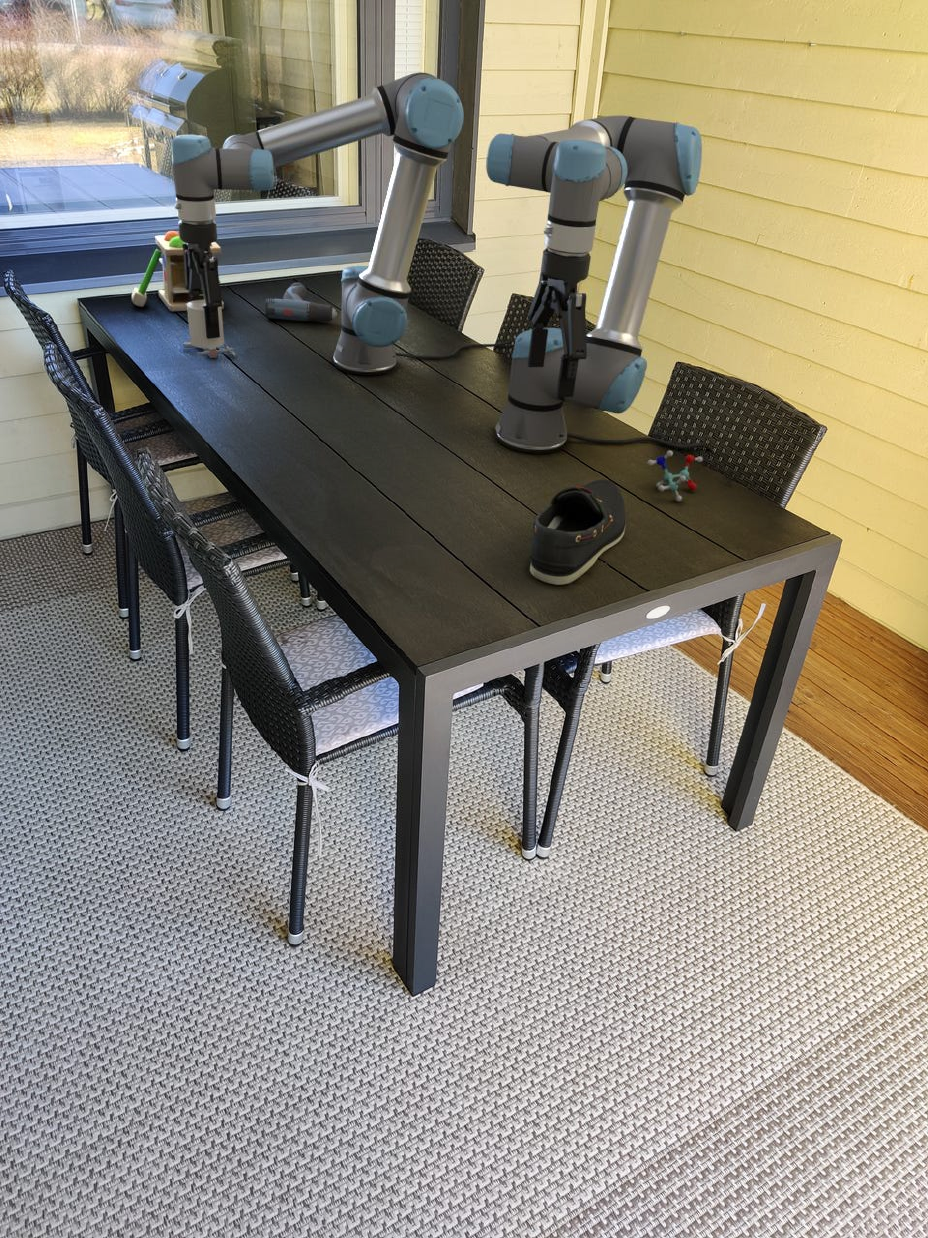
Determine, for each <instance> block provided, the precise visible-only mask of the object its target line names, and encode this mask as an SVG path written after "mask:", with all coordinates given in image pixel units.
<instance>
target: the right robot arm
mask: <svg viewBox="0 0 928 1238" xmlns="http://www.w3.org/2000/svg"><path fill="white" fill-rule="evenodd" d="M702 154H703V141H702V136H701V133H700V131H699V130H698V128H696V127H695V126H690V125H686V124H682V123H680V122H677V121H676V122H671V121H664V120H656V119H648V118H642V117H635V116H631V115H622V114H621V115H609V116H601V117H594V118H589V119H582V120H579V121H577V122H575V123H574V124H572V125H571V126H570V127H569V128H567V129H563V130H556V131H552V132H551V131H550V132H545V133H539V134H534V135H526V136H525V135H517V134H516V135H515V133H510V134H509V133H498V134H496V135H494V137H492V139H491V141H490V143H489V145H488V149H487V154H486V162H485V170H486V174H487V177H488V178H489V180H490V181H491V182H493V183H496V184H499V185H504V186H505V187H515V188H520V189H526V190H527V189H528V190H533V191H538V192H545V193H549V195H550V196H549V202H548V213H547V220H546V227H544V228H543V234H544V236H545V237H544V246H545V247H546V248H545V249H543V251H542V259H541V266H540V274H539V280H538V284H537V287H536V290H535V293H534V295H533V299H532V301H531V305H530V307H529V310H528V313H527V320H528V321H530V327H531V329H528V330H525V331H523V332H520V333H519V334H518V335H517V337H516V338H515V340H514V341H515V344H513V345H514V346H513V351H512V354H511V367H510V368H511V369H510V374H509V375H510V376H509V385H508V396H507V400H506V401H507V402H506V404H505V405H504V409H503V410H502V413H501V415H500V417H499V419H498V421H497V422H496V425H495V428H494V429H495V433H494V437H495V440H496V441H497V442H498V443H499V444H501V446H504V447H506V448H508V449H510V450H512V451H516V452H520V453H526V454H533V455H544V454H552V453H556V452H559V451H560V450H562V449H564V448H565V447H566V445H567V440H568V438H570V439H574V440H579V441H582V442H583V441H584V442H587V443H593V444H602V445H626V444H632V443H639V442H650V443H656V444H659V445H663V446H666V447H669V448H674V449H678V450H690V449H691V450H692V449H695V448H703V447H702V446H703V444H702V443H703V442H696V443H690V444H677V443H673V442H670V441H666V440H663V439H660V438H655V437H649V436H648V437H646V436H641V437H634V438H633V437H632V438H627V439H602V438H592V437H587V436H583V435H580V434H574V433H570V432H568V431H567V424H566V419H565V413H564V402H566V403H570V404H574V405H578V406H581V407H586V408H589V409H594V410H597V411H599V412H601V413H602V412H607V413H612V414H617V415H618V414H623V413H625V412H627V410H629V409H630V408H631V406H632V405H633V403H634V402H635V399H636V398H637V396H638V394H639V392H640V389H641V387H642V386H643V383H644V379H645V376H646V371H647V367H648V362H647V360H646V358H644V357H643V356H642V353H643V346H642V344H641V343H640V341H639V335H640V331H641V328H642V323H643V320H644V316H645V313H646V309H647V306H648V302H649V299H650V296H651V295H650V294H651V291H652V288H653V287H652V286H653V283H654V280H655V276H656V272H657V268H658V265H659V261H660V259H661V258H660V257H661V254H662V251H663V245H664V243H665V239H666V236H667V232H668V229H669V225H670V221H671V218H672V214H673V213H674V212H675V211H677V210H678V209H679V208H681V207H682V206H683V204H684V199H685V196H686V197H689V196H693V195H694V194H695V193H696V190H697V187H698V185H699V181H700V174H701V170H702V169H701V168H702V158H703V155H702ZM622 188H623V191H622V194H623V195H624V197H625V199H626V201H627V206H626V210H625V214H624V219H623V222H622V226H621V229H620V232H619V237H618V240H617V245H616V248H615V253H614V256H613V261H612V264H611V267H610V271H609V274H608V278H607V282H606V286H605V290H604V294H603V298H602V302H601V305H600V309H599V313H598V317H597V321H596V325H595V327H594V329H593V330H592V331H591V330H590V331H589V332H588V333H587V319H586V307H587V294H586V293H585V292H583V293H582V292H581V293H580V292H579V290H578V289H579V288H578V287H579V286H578V284H580V283H581V282H582V281H585V280H586V279H587V278H588V276H589V272H590V264H591V260H592V259H591V258H592V256H591V255H590V252H592V251H593V247H594V240H595V234H596V228H597V218H598V211H599V207H600V202H602V201H605V200H608V199H611V198H612V197H614V196H615V194H617V193H618V192H619V191H620V190H621V189H622ZM554 314H555V317H556V318H557V319H558V320H559V324H560V328H559V327H558V328H557V327H551V326H550V325H551V324H550V321H551V319H552V317H553V316H554ZM704 449H707V450H708V451H709V452H714V451H715V450H714V448H713V447H712V446H711V447H704Z"/></svg>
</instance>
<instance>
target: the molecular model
mask: <svg viewBox="0 0 928 1238" xmlns="http://www.w3.org/2000/svg"><path fill="white" fill-rule="evenodd" d="M673 455H674V452H673V450H667V451H666V454H664V456H658V457H657V458H656V459H655V460H652V459H648V460H647V462H646V464H647V466H649V467H652V466H654V465H656V464H657V465H658V466H661V468H662V470H663V472H664V475H663V479H662V480H661V481H658V482H657V483H656V485H655V486H656V488H657V490H658V491H659V492H662V493H663V492H664V491H665V490H669V491H671V492H673V493H674V495H675V502H678V503H680V502H681V501H682V500H683V497H682V496H681V495H680V494H679V492H678V489H679V485H680V484H681V483H684V482H685V483H686V484H687V487H688V490H689V491H695V490H696V489H697V484H696V483H695V482H693V481H692V479H691V477H690V472H689V471H688V470H689V467H690V464H692V463H693V462H697V463H702V462H703V461H704V458H703V457H702V456H697V457H694V456H693V455H691V454H688V455H686V456H685V462H686V464H685V466H684V469H683V470H681V471H680V472H679V473H678V474H673V473H671V472H669V471H668V469H667V467H666V460H667V459H668V458H670V457H673ZM677 478H678V480H677V481H673V480H674V479H677ZM665 483H668V485H665V486H664V484H665Z"/></svg>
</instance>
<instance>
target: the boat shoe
mask: <svg viewBox="0 0 928 1238" xmlns="http://www.w3.org/2000/svg"><path fill="white" fill-rule="evenodd" d="M623 497H624V496H623V494H622V493H621V490H620V489H619V487H618V486H617V484H616V483H614V482H613V481H611V480H609V479H595V480H593V481H589V482H587V483H586V484H584V485H583V486H568V487H566V488H563V489H562V490H560V491H559V492H556V494H555V495H554V496H553V497H552V498H551V500H550V502H549V504H548V506H546V507H544V508H543V510H541V511H540V513H538V514H537V515H536V517H535V519H534V520H533V522H532V529H533V538H532V541H531V546H530V547H531V548H530V551H529V558H530V559H531V560H530V566H529V572H530V574H531V575H532V576H533V577H534V578H535V579H538V580H540V581H542V582H544V583H547V584H550V585H557V586H558V585H559V586H561V585H568V584H571V583H572V582H574V581H576V580H577V579H579V578H580V577H581V576H582V575H584V573H586V572H587V571H588V570H589V569H590V568H591V567H593V565H594V564H595V563H596V561H597V560H598V558H599V557H601V555H602V554H603V553H604V552H606V551H607V550H609V549H610V548H612V547H614V546H615V545H617V544H618V543H619V542H620V541H621V540H622V539H623V537H624V535H625V532H626V526H627V525H626V524H627V516H626V505H625V502H624V498H623Z"/></svg>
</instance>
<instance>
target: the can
mask: <svg viewBox="0 0 928 1238" xmlns="http://www.w3.org/2000/svg"><path fill="white" fill-rule="evenodd" d="M202 306H206V304H205V300H195V301H191V302H189V303H188V304H187V311H186V312H187V322H188V331H189V332H188V333H189V342H190V343H191V345H193V346H194V347H195V348H199V349H202V348H216V349H217V348H219V347H222V346H223V345H224V344H225V336H224V324H223V323H224V322H223V309H222V308H221V307H218V317H219V330H220V337H219V338H211V339H207V336H206V324H205V313H204V309H203V307H202Z"/></svg>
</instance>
